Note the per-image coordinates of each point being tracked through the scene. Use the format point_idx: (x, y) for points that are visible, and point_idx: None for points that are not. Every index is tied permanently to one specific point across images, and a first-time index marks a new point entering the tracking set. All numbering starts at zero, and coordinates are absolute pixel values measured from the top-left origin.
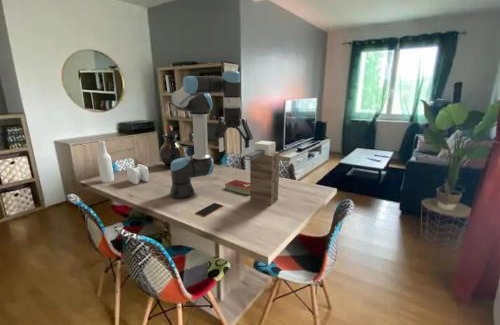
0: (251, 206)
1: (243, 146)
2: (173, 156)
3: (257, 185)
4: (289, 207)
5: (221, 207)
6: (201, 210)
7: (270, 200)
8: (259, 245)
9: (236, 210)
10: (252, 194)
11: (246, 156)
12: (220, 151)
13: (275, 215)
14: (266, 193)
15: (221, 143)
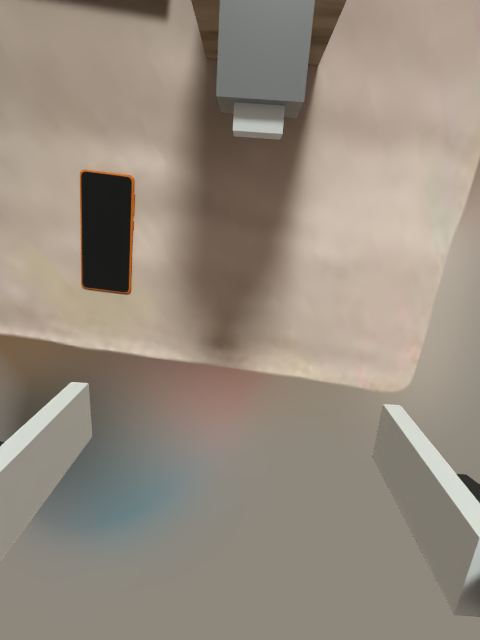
0: None
1: (418, 536)
2: None
3: None
4: (406, 40)
5: (133, 193)
6: (86, 257)
7: (320, 52)
8: (371, 362)
9: (202, 188)
10: (215, 40)
11: (238, 109)
12: (90, 437)
13: (365, 156)
14: None
15: (40, 479)
